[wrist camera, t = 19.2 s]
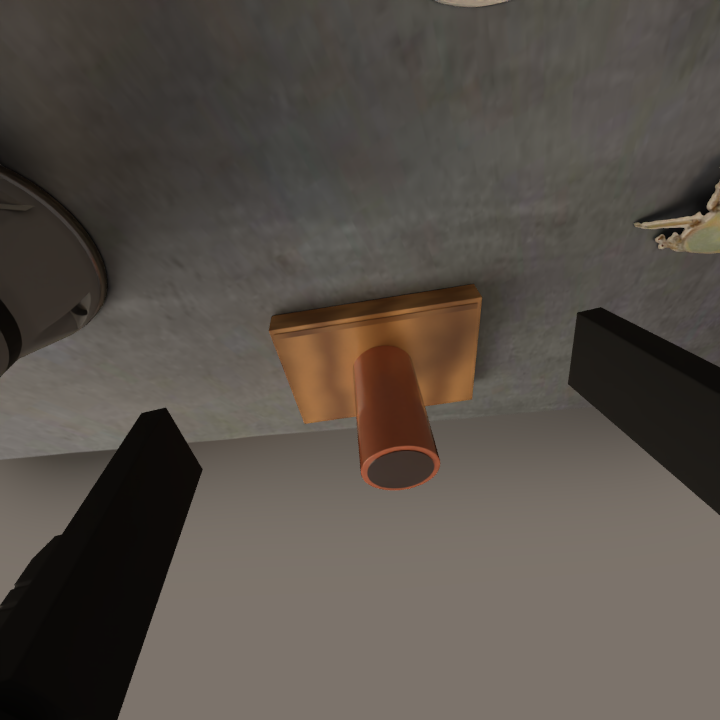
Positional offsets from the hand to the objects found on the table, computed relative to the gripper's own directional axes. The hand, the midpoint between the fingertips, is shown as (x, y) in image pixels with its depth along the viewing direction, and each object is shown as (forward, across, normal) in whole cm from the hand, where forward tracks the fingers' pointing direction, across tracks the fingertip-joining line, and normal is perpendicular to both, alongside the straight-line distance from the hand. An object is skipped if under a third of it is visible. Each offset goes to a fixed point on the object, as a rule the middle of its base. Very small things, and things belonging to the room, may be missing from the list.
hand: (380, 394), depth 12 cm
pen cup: (+22, +2, -13) cm, 26 cm away
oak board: (+25, +2, -13) cm, 28 cm away
